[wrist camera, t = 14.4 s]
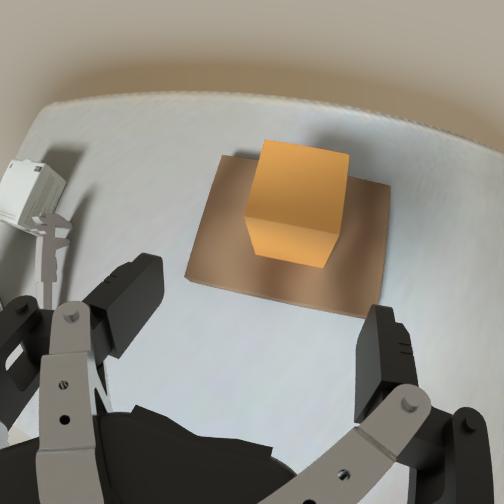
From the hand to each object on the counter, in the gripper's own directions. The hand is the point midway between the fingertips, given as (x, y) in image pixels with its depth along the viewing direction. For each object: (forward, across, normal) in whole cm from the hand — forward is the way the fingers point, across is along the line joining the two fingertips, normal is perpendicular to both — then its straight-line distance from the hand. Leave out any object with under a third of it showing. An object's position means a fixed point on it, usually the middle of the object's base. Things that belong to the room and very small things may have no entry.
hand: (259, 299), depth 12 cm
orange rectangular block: (+15, 0, +4) cm, 16 cm away
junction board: (+17, 0, +5) cm, 17 cm away
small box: (+15, +31, +7) cm, 36 cm away
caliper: (+7, +22, +15) cm, 28 cm away
